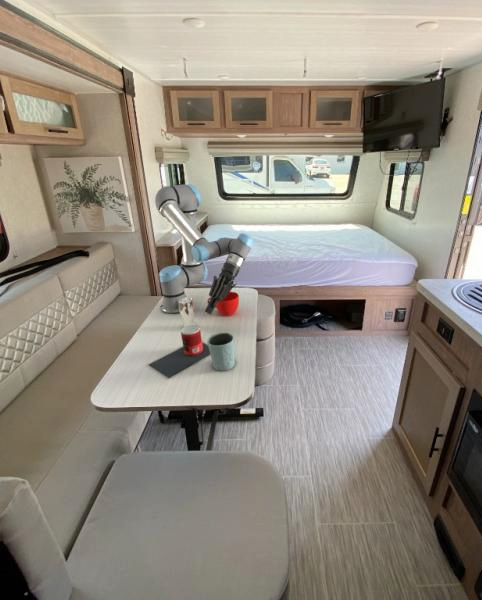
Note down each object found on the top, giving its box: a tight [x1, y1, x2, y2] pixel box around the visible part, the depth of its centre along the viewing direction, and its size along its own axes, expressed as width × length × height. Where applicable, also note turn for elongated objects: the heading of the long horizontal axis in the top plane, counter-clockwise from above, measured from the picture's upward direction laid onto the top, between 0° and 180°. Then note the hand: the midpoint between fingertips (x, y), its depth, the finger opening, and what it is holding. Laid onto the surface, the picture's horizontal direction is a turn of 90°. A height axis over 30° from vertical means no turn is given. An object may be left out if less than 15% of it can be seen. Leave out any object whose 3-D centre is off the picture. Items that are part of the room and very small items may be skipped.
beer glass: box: [178, 297, 196, 328], centre depth 156 cm, size 7×7×15 cm
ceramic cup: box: [206, 291, 240, 317], centre depth 171 cm, size 13×17×10 cm
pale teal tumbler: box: [206, 332, 236, 372], centre depth 126 cm, size 10×10×12 cm
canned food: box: [180, 324, 203, 356], centre depth 136 cm, size 8×8×11 cm
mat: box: [148, 342, 211, 379], centre depth 135 cm, size 24×14×1 cm, turn 140°
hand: (207, 312), depth 139 cm, fingers closed
